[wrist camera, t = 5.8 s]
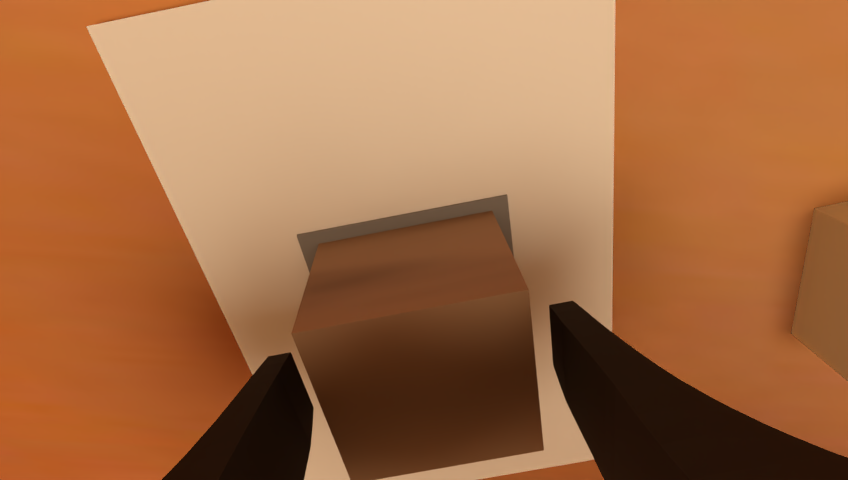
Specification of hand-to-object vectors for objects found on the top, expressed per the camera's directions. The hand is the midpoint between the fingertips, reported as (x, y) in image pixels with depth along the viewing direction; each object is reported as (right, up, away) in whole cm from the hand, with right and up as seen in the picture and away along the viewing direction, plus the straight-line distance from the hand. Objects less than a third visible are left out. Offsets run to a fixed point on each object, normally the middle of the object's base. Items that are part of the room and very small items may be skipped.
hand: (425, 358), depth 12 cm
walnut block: (0, +1, +2) cm, 3 cm away
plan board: (0, +1, +3) cm, 3 cm away
